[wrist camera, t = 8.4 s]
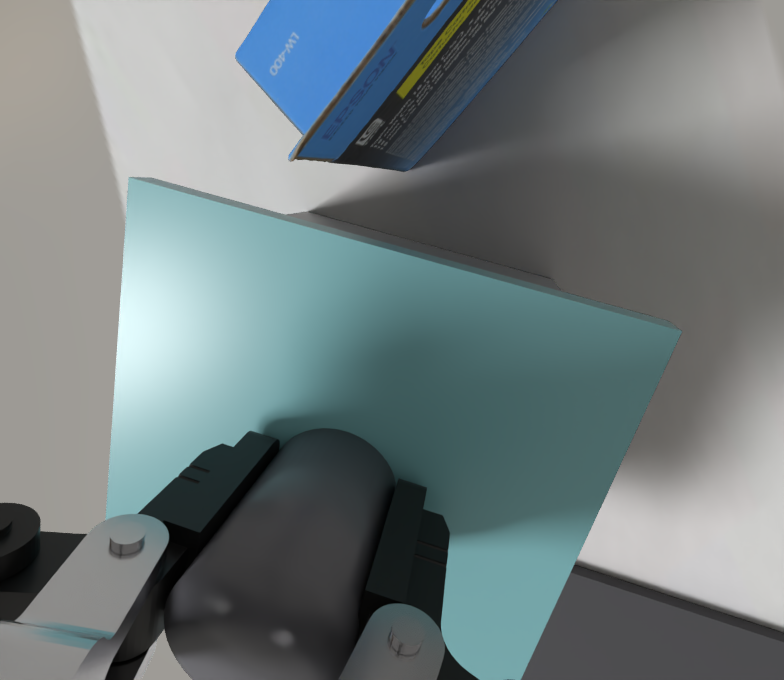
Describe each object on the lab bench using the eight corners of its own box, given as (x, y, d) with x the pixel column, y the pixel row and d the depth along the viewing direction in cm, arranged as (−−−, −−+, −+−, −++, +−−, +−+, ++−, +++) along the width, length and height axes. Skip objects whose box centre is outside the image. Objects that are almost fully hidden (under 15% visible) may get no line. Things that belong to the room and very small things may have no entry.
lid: (151, 177, 12) (-95, 172, 7) (668, 321, 11) (829, 441, 6) (119, 571, 16) (-52, 752, 11) (494, 705, 15) (500, 976, 10)
